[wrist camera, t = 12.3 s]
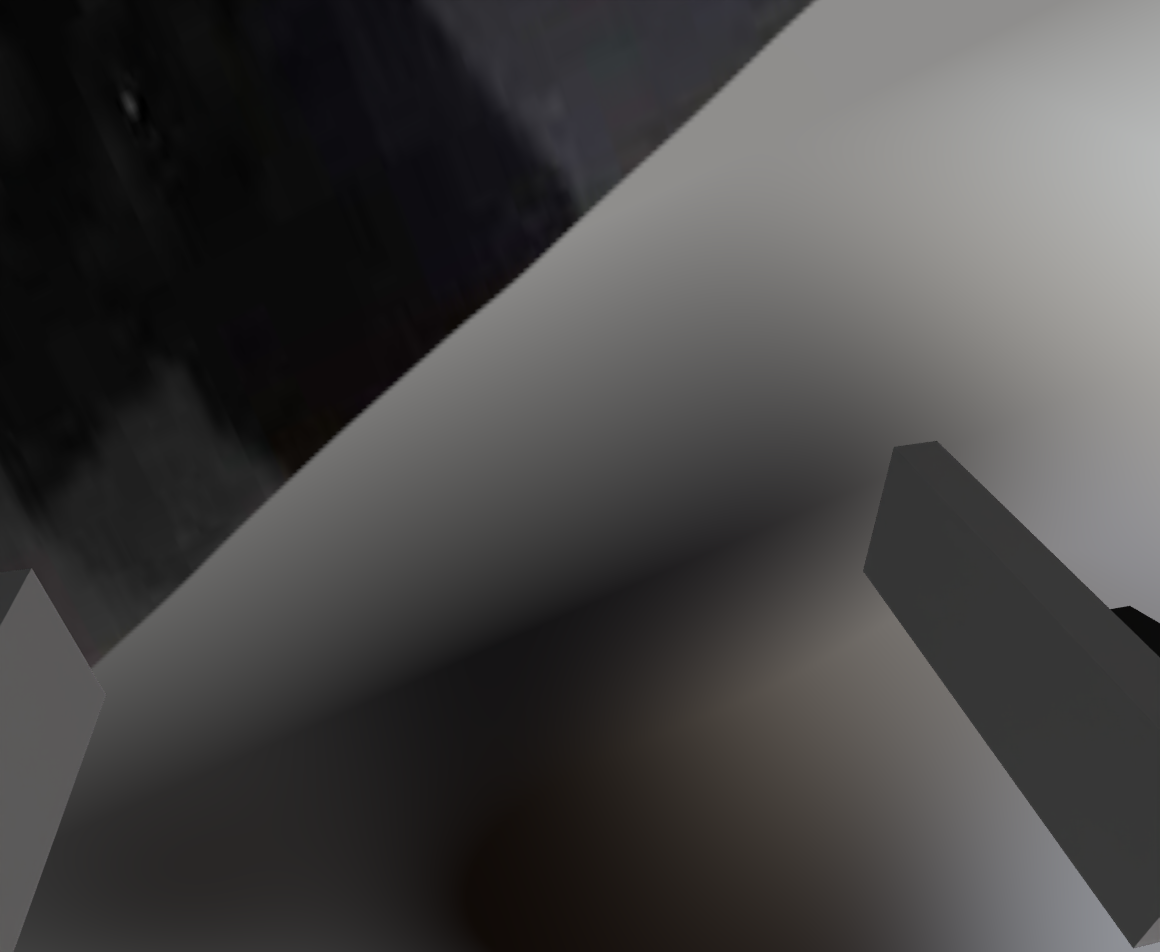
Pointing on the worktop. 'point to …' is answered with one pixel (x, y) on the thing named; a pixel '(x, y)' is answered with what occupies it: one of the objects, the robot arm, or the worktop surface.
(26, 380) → the worktop surface
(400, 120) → the worktop surface
